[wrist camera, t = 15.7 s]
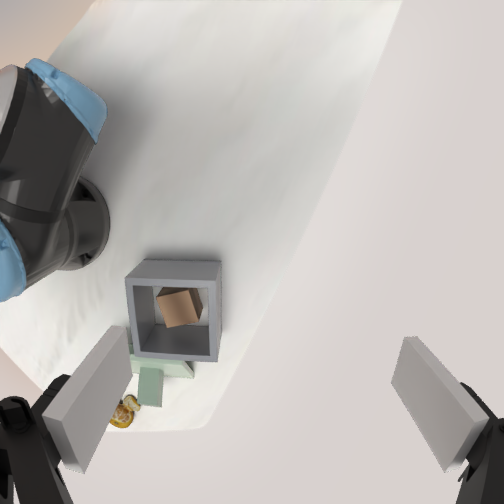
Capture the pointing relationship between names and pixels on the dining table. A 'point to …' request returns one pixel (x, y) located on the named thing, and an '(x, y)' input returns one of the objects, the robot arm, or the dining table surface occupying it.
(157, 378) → the lid
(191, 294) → the block
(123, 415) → the fruit
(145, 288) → the storage box
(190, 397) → the dining table surface
